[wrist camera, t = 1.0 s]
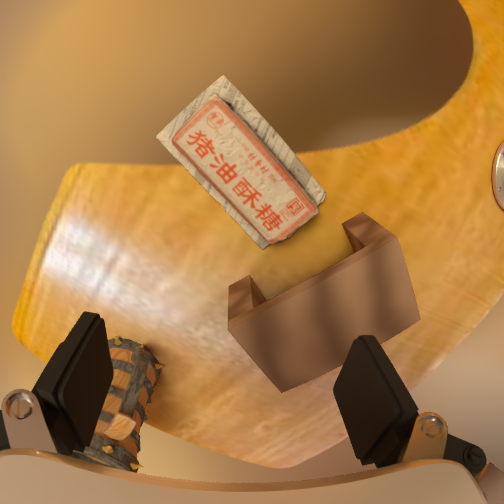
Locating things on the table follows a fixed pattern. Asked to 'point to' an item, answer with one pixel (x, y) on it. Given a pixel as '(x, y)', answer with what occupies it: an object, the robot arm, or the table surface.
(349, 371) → the robot arm
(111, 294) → the table surface
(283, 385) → the walnut shelf
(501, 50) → the table surface
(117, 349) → the mug
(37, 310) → the table surface
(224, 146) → the packaged product
